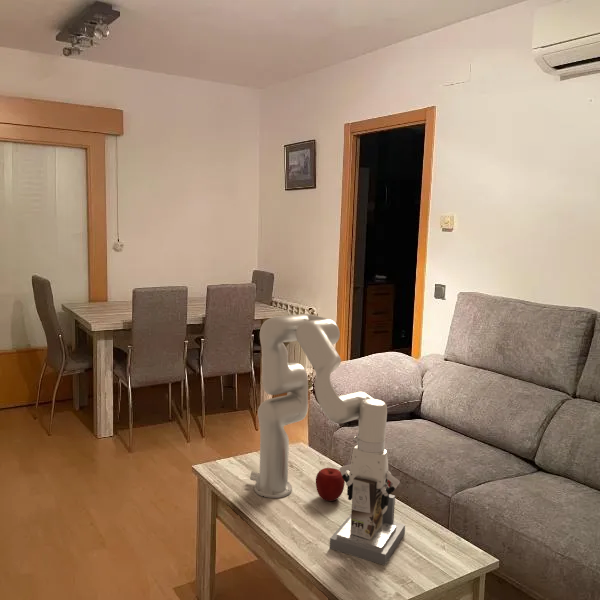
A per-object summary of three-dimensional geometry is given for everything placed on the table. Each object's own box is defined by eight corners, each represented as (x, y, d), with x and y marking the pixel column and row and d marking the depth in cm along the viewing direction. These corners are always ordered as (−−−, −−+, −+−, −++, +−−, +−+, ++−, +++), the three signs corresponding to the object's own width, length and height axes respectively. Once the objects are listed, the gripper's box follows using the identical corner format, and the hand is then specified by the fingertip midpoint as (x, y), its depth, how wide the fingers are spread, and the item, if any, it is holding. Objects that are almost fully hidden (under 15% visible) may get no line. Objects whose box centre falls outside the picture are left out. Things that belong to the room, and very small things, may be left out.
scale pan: (336, 538, 159) (336, 534, 159) (353, 517, 171) (353, 514, 170) (381, 551, 153) (381, 547, 153) (396, 529, 165) (396, 525, 165)
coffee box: (371, 540, 156) (374, 484, 154) (349, 534, 159) (352, 478, 157) (383, 526, 164) (386, 472, 162) (362, 519, 167) (364, 467, 165)
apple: (337, 490, 194) (338, 462, 193) (348, 503, 185) (350, 474, 184) (311, 493, 191) (312, 465, 190) (321, 507, 182) (322, 477, 181)
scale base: (329, 548, 159) (331, 510, 158) (353, 520, 175) (355, 485, 174) (384, 565, 152) (387, 526, 151) (404, 534, 168) (406, 498, 167)
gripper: (336, 442, 159) (333, 500, 162) (397, 456, 152) (392, 516, 154) (347, 433, 166) (343, 489, 168) (405, 446, 158) (401, 505, 161)
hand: (367, 502), depth 161 cm, fingers open, 9 cm apart
